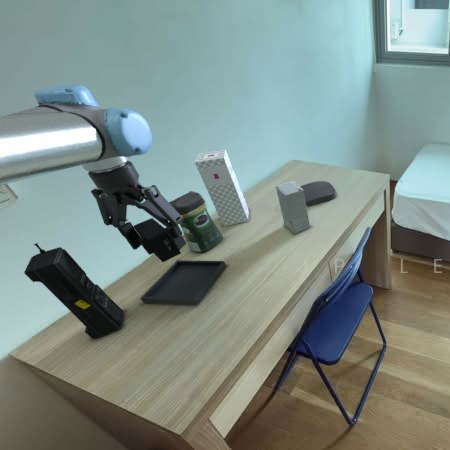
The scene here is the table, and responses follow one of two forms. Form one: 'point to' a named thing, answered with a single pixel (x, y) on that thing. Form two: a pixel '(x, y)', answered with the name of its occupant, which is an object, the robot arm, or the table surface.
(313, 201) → the media streaming box
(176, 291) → the shallow black tray
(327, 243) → the table surface
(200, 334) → the table surface
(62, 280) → the portable radio
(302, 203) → the cosmetic box
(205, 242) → the coffee jar
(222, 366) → the table surface
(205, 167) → the box
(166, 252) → the digital camera
